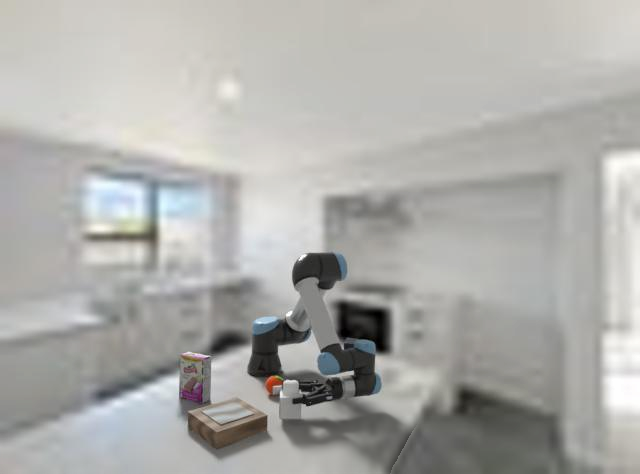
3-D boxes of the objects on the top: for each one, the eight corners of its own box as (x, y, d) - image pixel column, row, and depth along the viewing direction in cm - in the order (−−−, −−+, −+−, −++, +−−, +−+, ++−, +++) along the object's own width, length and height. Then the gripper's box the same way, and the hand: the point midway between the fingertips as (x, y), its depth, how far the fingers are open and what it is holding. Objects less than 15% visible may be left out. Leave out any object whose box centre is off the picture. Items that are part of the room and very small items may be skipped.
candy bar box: (178, 398, 161) (179, 354, 161) (187, 393, 166) (188, 350, 165) (202, 404, 156) (203, 359, 156) (211, 399, 161) (212, 355, 160)
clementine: (288, 392, 170) (289, 374, 169) (281, 399, 163) (281, 380, 163) (270, 389, 172) (270, 371, 172) (262, 395, 166) (262, 377, 166)
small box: (356, 366, 204) (357, 344, 204) (342, 364, 205) (343, 342, 205) (358, 359, 214) (359, 338, 214) (345, 358, 216) (346, 337, 215)
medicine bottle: (279, 409, 149) (280, 375, 148) (300, 409, 149) (301, 375, 149) (279, 419, 142) (280, 383, 141) (301, 419, 142) (302, 383, 142)
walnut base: (187, 426, 139) (188, 410, 139) (236, 411, 151) (236, 396, 151) (216, 449, 126) (216, 431, 126) (267, 430, 138) (267, 414, 138)
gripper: (353, 411, 142) (287, 421, 134) (326, 387, 162) (267, 394, 153) (353, 388, 142) (288, 397, 133) (327, 367, 162) (268, 373, 153)
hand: (277, 396), depth 143 cm, fingers closed on medicine bottle, 9 cm apart
